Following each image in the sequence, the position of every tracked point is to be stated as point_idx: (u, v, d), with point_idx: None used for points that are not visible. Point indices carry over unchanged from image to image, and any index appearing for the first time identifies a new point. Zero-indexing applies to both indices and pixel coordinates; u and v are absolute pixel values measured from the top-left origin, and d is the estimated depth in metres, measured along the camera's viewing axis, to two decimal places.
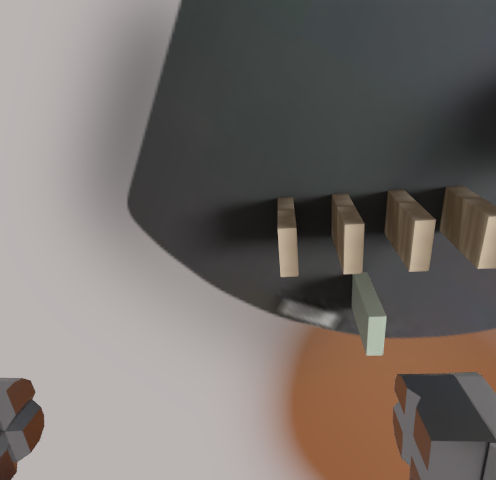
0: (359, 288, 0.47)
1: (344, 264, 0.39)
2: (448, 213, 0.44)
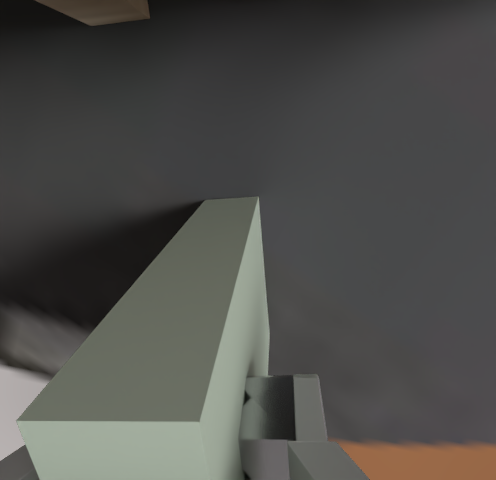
0: (180, 235, 0.09)
1: None
2: None
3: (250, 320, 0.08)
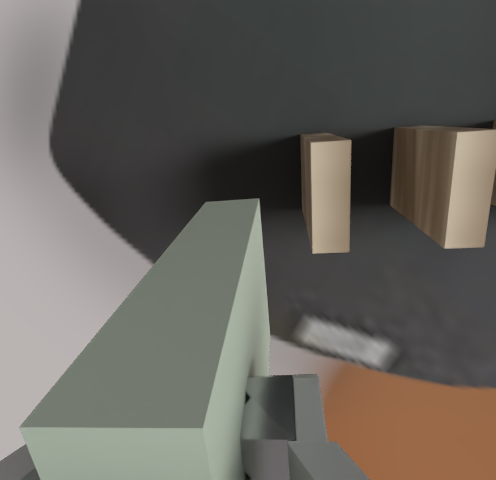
0: (181, 238, 0.09)
1: (447, 226, 0.19)
2: None
3: (251, 323, 0.08)
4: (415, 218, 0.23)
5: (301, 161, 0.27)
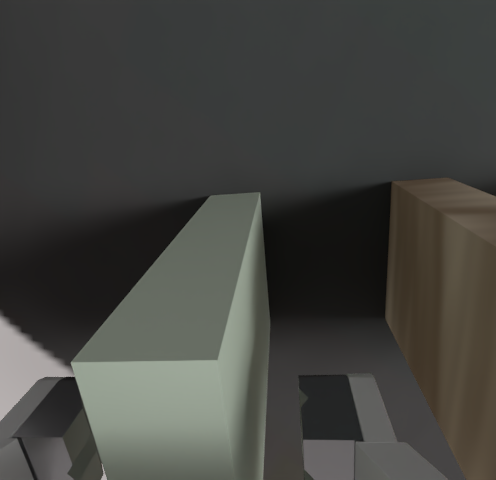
0: (189, 226, 0.10)
1: None
2: None
3: (253, 301, 0.09)
4: None
5: (394, 237, 0.13)
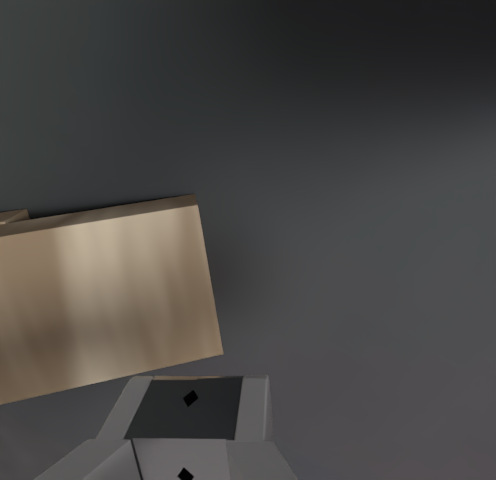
0: None
1: None
2: None
3: None
4: None
5: None
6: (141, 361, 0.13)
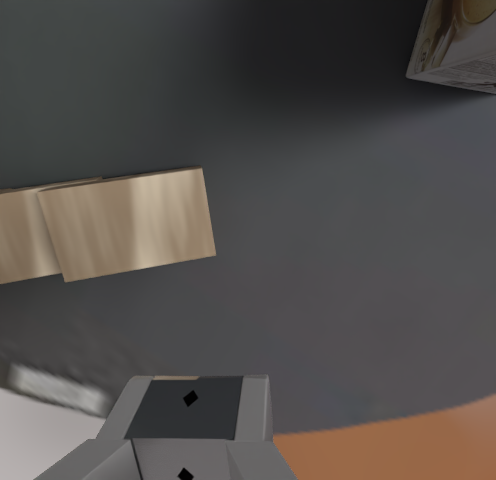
0: None
1: None
2: None
3: None
4: None
5: None
6: (170, 256, 0.24)
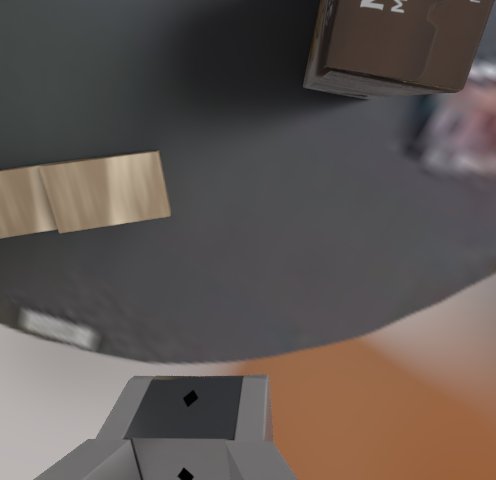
0: None
1: None
2: None
3: None
4: None
5: None
6: (136, 216, 0.33)
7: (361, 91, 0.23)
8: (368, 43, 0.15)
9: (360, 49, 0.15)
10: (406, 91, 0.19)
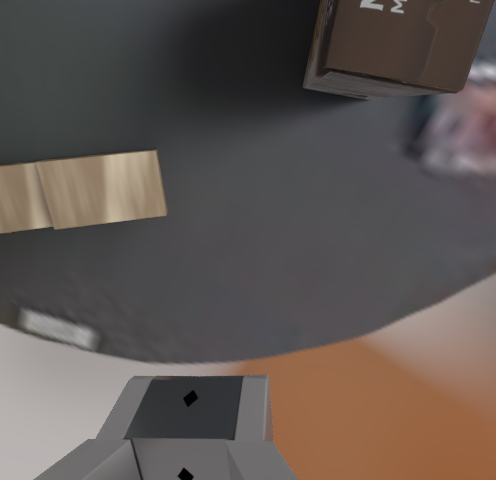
0: None
1: None
2: None
3: None
4: None
5: None
6: (132, 214, 0.33)
7: (361, 91, 0.23)
8: (368, 44, 0.15)
9: (359, 49, 0.15)
10: (406, 91, 0.19)
